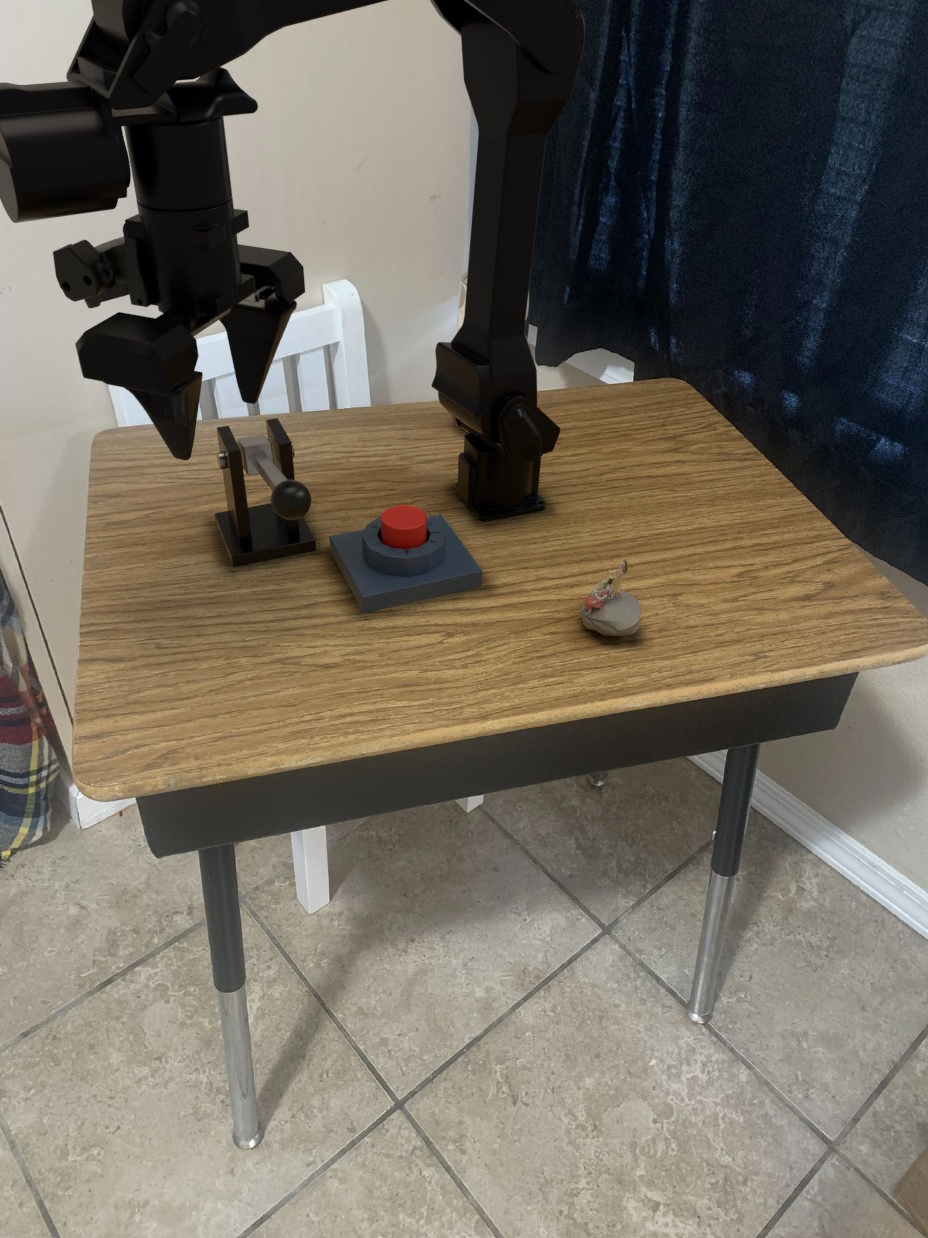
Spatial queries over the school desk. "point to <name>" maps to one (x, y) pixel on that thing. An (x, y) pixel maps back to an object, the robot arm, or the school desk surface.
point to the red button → (403, 527)
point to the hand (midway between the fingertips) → (217, 428)
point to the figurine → (611, 607)
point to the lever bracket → (259, 526)
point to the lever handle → (274, 478)
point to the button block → (403, 566)
